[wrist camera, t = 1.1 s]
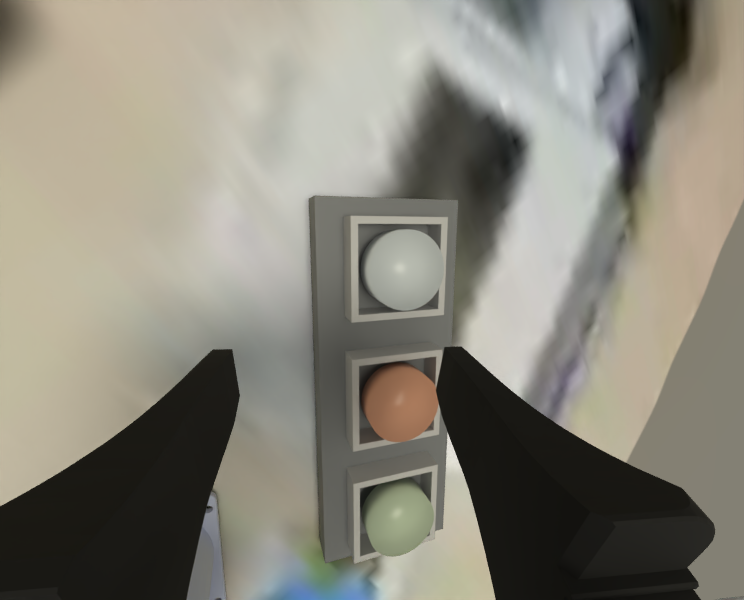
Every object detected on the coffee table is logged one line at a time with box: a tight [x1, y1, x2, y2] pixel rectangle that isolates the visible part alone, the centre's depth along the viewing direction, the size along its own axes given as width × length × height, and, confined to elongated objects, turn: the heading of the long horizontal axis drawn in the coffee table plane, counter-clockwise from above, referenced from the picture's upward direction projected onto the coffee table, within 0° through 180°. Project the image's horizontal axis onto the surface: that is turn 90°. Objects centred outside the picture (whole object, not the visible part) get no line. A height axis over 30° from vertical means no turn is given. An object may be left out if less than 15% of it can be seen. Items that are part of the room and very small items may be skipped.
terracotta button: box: [361, 362, 438, 442], centre depth 21 cm, size 4×4×2 cm
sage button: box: [362, 477, 434, 556], centre depth 23 cm, size 4×4×2 cm
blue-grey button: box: [360, 229, 444, 311], centre depth 20 cm, size 4×4×2 cm
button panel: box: [309, 196, 458, 563], centre depth 23 cm, size 24×9×4 cm, turn 0°
